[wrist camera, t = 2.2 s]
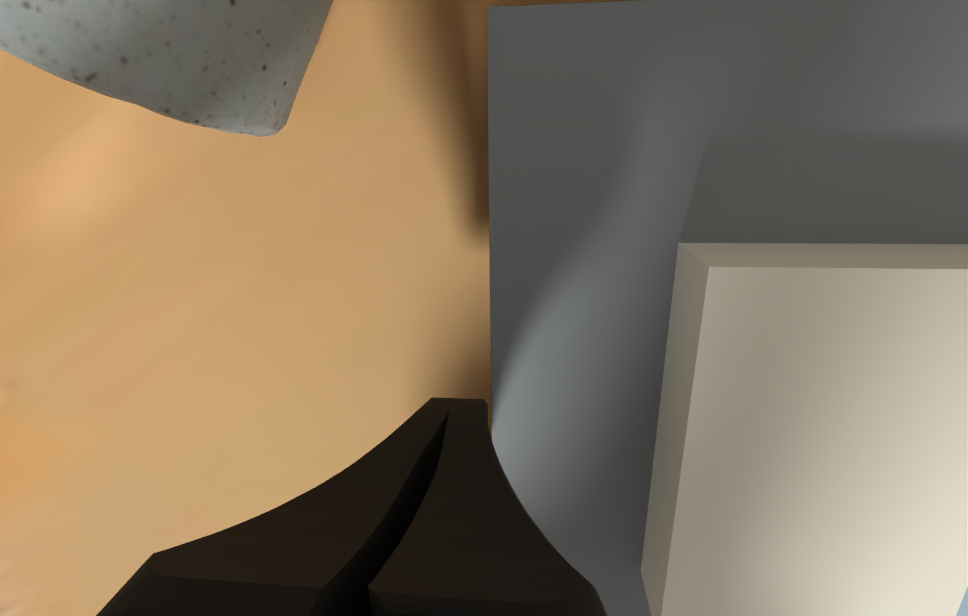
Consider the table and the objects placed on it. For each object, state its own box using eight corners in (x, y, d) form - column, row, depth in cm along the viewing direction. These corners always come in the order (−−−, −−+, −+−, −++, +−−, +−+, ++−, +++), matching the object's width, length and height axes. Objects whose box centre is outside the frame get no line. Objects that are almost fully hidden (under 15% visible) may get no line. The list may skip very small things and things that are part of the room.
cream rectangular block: (878, 587, 13) (936, 664, 11) (640, 571, 14) (657, 641, 12) (989, 244, 10) (1094, 270, 8) (678, 242, 11) (708, 266, 9)
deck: (836, 591, 18) (914, 711, 14) (502, 568, 19) (494, 674, 15) (999, 24, 12) (1208, -24, 8) (500, 42, 13) (486, 6, 9)
